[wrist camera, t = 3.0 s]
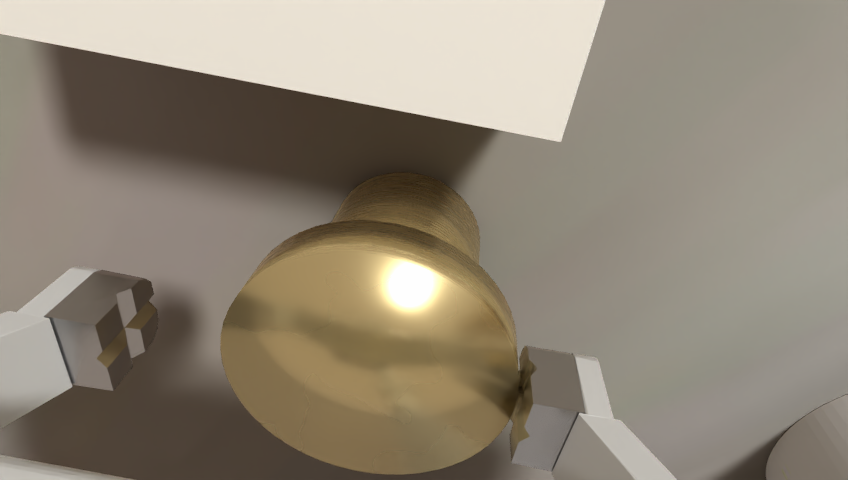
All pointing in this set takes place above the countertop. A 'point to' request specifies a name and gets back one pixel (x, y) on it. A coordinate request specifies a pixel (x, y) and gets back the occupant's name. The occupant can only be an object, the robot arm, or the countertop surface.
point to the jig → (352, 49)
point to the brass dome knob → (378, 334)
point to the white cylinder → (813, 446)
